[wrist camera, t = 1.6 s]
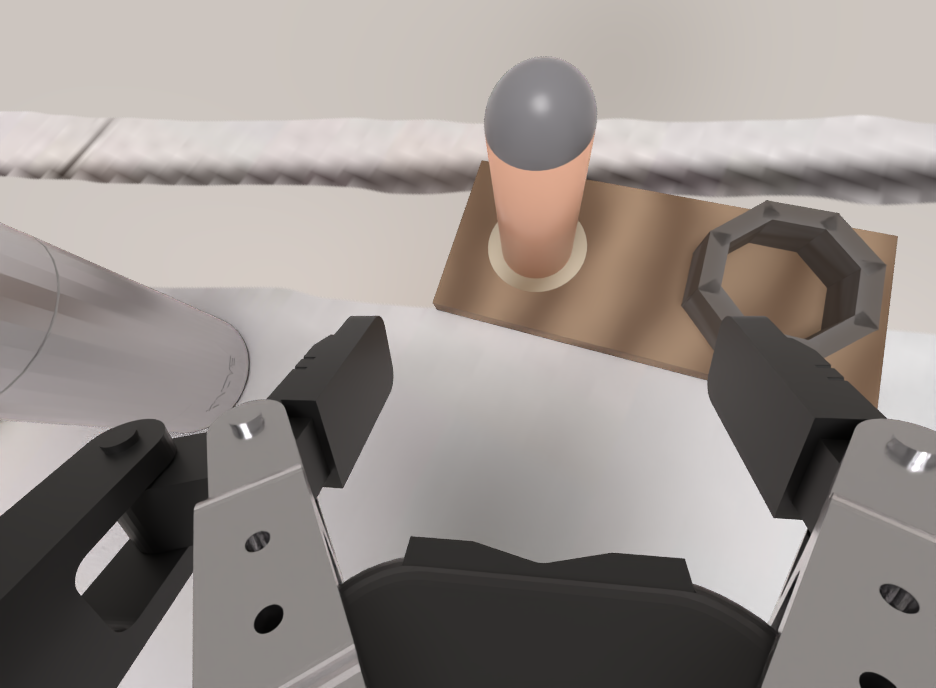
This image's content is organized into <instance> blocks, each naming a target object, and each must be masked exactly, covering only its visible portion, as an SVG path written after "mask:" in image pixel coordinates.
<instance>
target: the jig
mask: <svg viewBox="0 0 936 688" xmlns="http://www.w3.org/2000/svg"><path fill="white" fill-rule="evenodd" d="M897 238H898V236H894V235H888V234H883V233H877V232H871V231H866V230H861V229H855V228H851V226H850V225H849V224H848V223H847V222H846V221H845V220H844V219H843V218H842V217H841V216H840V214H839V213H834V212H829V211H823V210H817V209H812V208H806V207H801V206H795V205H789V204H783V203H778V202H772V201H768V200H766V201H765V202H763V203H761V204H760V205H758V206H756V207H754V208H752V209H746V208H740V207H735V206H729V205H724V204H718V203H713V202H707V201H701V200H696V199H691V198H685V197H680V196H674V195H669V194H663V193H658V192H652V191H647V190H641V189H636V188H630V187H625V186H619V185H614V184H608V183H603V182H597V181H592V180H586V181H585V186H584V191H583V197H582V202H581V207H580V212H579V217H578V222H577V228H576V233H575V238H574V243H573V248H572V253H571V256H570V258H569V260H568V262H567V263H566V265H565V266H564V267H563V268H562V269H561V270H560V271H558V272H557V273H555V274H553V275H551V276H548V277H545V278H537V279H536V278H527V277H524V276H521V275H519V274H517V273H516V272H514V271H513V270H512V269H511V268H510V267H509V266H508V265H507V263H506V262H505V260H504V257H503V254H502V248H501V241H500V234H499V227H498V220H497V213H496V207H495V200H494V193H493V186H492V179H491V172H490V165H489V162H488V161H481V164H480V167H479V170H478V173H477V176H476V179H475V182H474V184H473V187H472V190H471V193H470V196H469V199H468V202H467V205H466V208H465V210H464V213H463V217H462V219H461V222H460V225H459V228H458V231H457V234H456V237H455V240H454V242H453V245H452V248H451V251H450V254H449V257H448V260H447V262H446V265H445V268H444V271H443V274H442V277H441V280H440V283H439V286H438V288H437V292H436V294H435V297H434V300H433V304H434V306H435V307H436V309H437V310H441V311H445V312H449V313H453V314H456V315H460V316H464V317H468V318H472V319H476V320H479V321H483V322H487V323H491V324H495V325H498V326H502V327H506V328H510V329H514V330H518V331H521V332H525V333H529V334H533V335H537V336H540V337H544V338H548V339H552V340H556V341H559V342H563V343H567V344H571V345H575V346H579V347H582V348H586V349H590V350H594V351H598V352H601V353H605V354H609V355H613V356H617V357H621V358H624V359H628V360H632V361H636V362H640V363H643V364H647V365H651V366H655V367H659V368H662V369H666V370H670V371H674V372H678V373H682V374H685V375H689V376H693V377H697V378H701V379H704V380H708V374H709V369H710V365H711V361H712V357H713V353H714V349H715V344H716V340H717V336H718V332H719V328H720V325H721V322H722V320H723V319H724V318H725V317H726V316H766V317H768V318H769V319H770V320H771V321H772V322H773V323H774V324H775V325H776V326H777V327H778V328H779V329H780V330H781V331H782V332H783V334H784V335H785V336H786V337H787V338H793V339H795V340H797V341H799V342H801V343H803V344H805V345H807V346H809V347H810V348H812V349H814V350H816V351H817V352H818V353H819V354H820V355H821V356H822V357H823V358H824V359H825V360H826V361H827V362H829V363H830V364H831V368H835V369H836V370H837V371H838V372H839V373H840V374H841V375H842V376H843V377H844V381H848V382H849V383H850V384H851V385H853V386H854V387H855V388H856V389H857V390H858V391H859V392H860V393H861V394H862V395H863V396H864V397H865V398H866V399H867V400H868V401H869V402H870V403H871V404H872V405H873V406H874V407H876V408H878V399H879V391H880V382H881V374H882V365H883V357H884V348H885V340H886V332H887V323H888V315H889V306H890V298H891V289H892V280H893V273H894V264H895V255H896V246H897Z"/></svg>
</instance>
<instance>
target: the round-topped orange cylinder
mask: <svg viewBox="0 0 936 688" xmlns="http://www.w3.org/2000/svg"><path fill="white" fill-rule="evenodd" d="M596 123H597V107H596V100H595V96H594V93H593V90H592V88H591V86H590V84H589V82H588V80H587V79H586V78H585V76H584V75H583V74H582V73H581V72H580V71H579V70H578V69H577V68H576V67H575V66H573V65H572V64H570V63H568V62H566V61H564V60H562V59H559V58H555V57H535V58H531V59H527V60H525V61H522V62H520V63H518V64H517V65H515V66H514V67H512V68H511V69H510V70H508V71H507V72H506V73H505V74H504V75H503V77H502V78H501V79H500V80H499V81H498V83H497V84H496V85H495V87H494V89H493V91H492V93H491V95H490V97H489V99H488V103H487V106H486V111H485V118H484V129H485V138H486V145H487V152H488V158H489V165H490V172H491V179H492V186H493V193H494V200H495V207H496V213H497V220H498V227H499V234H500V241H501V248H502V254H503V257H504V260H505V262H506V263H507V265H508V266H509V267H510V268H511V269H512V270H513V271H514V272H516V273H517V274H519V275H521V276H524V277H527V278H536V279H537V278H545V277H548V276H551V275H553V274H555V273H557V272H558V271H560V270H561V269H562V268H563V267H564V266H565V265H566V263H567V262H568V260H569V258H570V256H571V253H572V248H573V243H574V238H575V233H576V228H577V222H578V217H579V212H580V207H581V202H582V197H583V191H584V186H585V181H586V176H587V171H588V166H589V160H590V155H591V150H592V145H593V140H594V135H595V129H596Z"/></svg>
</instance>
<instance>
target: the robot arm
mask: <svg viewBox="0 0 936 688" xmlns="http://www.w3.org/2000/svg"><path fill="white" fill-rule="evenodd" d="M248 367H249V362H248V352H247V349H246V346H245V342H244V341H243V339H242V337H241V335H240V334H239V332H238V331H237V330H236V329H235V328H234V327H233V326H232V325H230V324H228V323H226V322H225V321H223V320H221V319H219V318H216V317H214V316H212V315H210V314H207V313H205V312H203V311H201V310H198V309H196V308H194V307H191V306H189V305H187V304H185V303H183V302H181V301H178V300H176V299H174V298H172V297H169V296H167V295H165V294H163V293H160V292H158V291H156V290H153V289H151V288H149V287H147V286H144V285H142V284H140V283H138V282H135V281H133V280H131V279H128V278H126V277H124V276H122V275H119V274H117V273H115V272H112V271H110V270H108V269H106V268H103V267H101V266H99V265H97V264H94V263H92V262H90V261H87V260H85V259H83V258H81V257H78V256H76V255H74V254H71V253H69V252H67V251H65V250H62V249H60V248H58V247H55V246H53V245H51V244H49V243H47V242H44V241H42V240H40V239H37V238H35V237H33V236H30V235H28V234H26V233H24V232H21V231H18V230H16V229H14V228H12V227H9V226H7V225H5V224H2V223H0V420H5V421H19V422H33V423H48V424H62V425H76V426H91V427H105V428H112V429H110V430H107V431H106V432H104V433H102V434H100V435H99V436H97V437H96V438H94V439H93V440H91V441H90V442H89V443H87V444H86V445H85V446H84V447H83V448H81V449H80V450H79V451H78V452H77V453H75V454H74V455H73V456H72V457H71V458H70V459H68V460H67V461H66V462H65V463H64V464H62V465H61V466H60V467H59V468H58V469H56V470H55V471H54V472H53V473H52V474H50V475H49V476H48V477H47V478H46V479H44V480H43V481H42V482H41V483H40V484H38V485H37V486H36V487H35V488H34V489H33V490H31V491H30V492H29V493H28V494H27V495H25V496H24V497H23V498H22V499H21V500H19V501H18V502H17V503H16V504H15V505H13V506H12V507H11V508H10V509H9V510H7V511H6V512H5V513H4V514H3V515H1V516H0V688H117V687H118V685H119V684H120V682H121V681H122V679H123V678H124V676H125V674H126V673H127V671H128V670H129V668H130V667H131V665H132V664H133V662H134V661H135V659H136V658H137V656H138V655H139V653H140V652H141V650H142V649H143V647H144V646H145V644H146V643H147V641H148V639H149V638H150V636H151V635H152V633H153V632H154V630H155V629H156V627H157V626H158V624H159V623H160V621H161V620H162V618H163V617H164V615H165V614H166V612H167V611H168V609H169V608H170V606H171V604H172V603H173V601H174V600H175V598H176V597H177V595H178V594H179V592H180V591H181V589H182V588H183V586H184V585H185V583H186V582H187V580H188V579H189V577H190V576H191V574H192V573H193V687H192V688H936V431H933V430H931V429H928V428H926V427H923V426H920V425H916V424H913V423H909V422H905V421H900V420H893V419H887V418H886V417H885V416H884V415H883V414H882V413H881V412H880V411H879V410H878V409H877V408H876V407H874V406H873V405H872V404H871V403H870V402H869V401H868V400H867V399H866V398H865V397H864V396H863V395H862V394H861V393H860V392H859V391H858V390H857V389H856V388H855V387H854V386H853V385H851V384H850V383H849V382H848V381H844V377H843V376H842V375H841V374H840V373H839V372H838V371H837V370H836V369H835V368H831V364H830V363H829V362H827V361H826V360H825V359H824V358H823V357H822V356H821V355H820V354H819V353H818V352H817V351H816V350H814V349H812V348H810V347H809V346H807V345H805V344H803V343H801V342H799V341H797V340H795V339H793V338H787V337H786V336H785V335H784V334H783V332H782V331H781V330H780V329H779V328H778V327H777V326H776V325H775V324H774V323H773V322H772V321H771V320H770V319H769V318H768V317H766V316H726V317H725V318H724V319H723V320H722V322H721V325H720V328H719V332H718V336H717V340H716V344H715V349H714V353H713V357H712V361H711V365H710V369H709V374H708V383H707V384H708V394H709V398H710V401H711V403H712V405H713V406H714V408H715V410H716V412H717V414H718V416H719V418H720V419H721V421H722V423H723V425H724V427H725V429H726V431H727V432H728V434H729V436H730V438H731V440H732V442H733V444H734V445H735V447H736V449H737V451H738V453H739V455H740V457H741V458H742V460H743V462H744V464H745V466H746V468H747V469H748V471H749V473H750V475H751V477H752V479H753V481H754V482H755V484H756V486H757V488H758V490H759V492H760V494H761V495H762V497H763V499H764V501H765V503H766V505H767V507H768V508H769V510H770V512H771V514H772V516H773V518H782V519H797V520H803V521H804V523H805V525H806V526H807V530H806V532H805V534H804V537H803V539H802V541H801V543H800V546H799V548H798V551H797V553H796V556H795V558H794V560H793V563H792V565H791V568H790V570H789V573H788V575H787V578H786V580H785V583H784V585H783V588H782V590H781V593H780V595H779V598H778V600H777V603H776V605H775V607H774V610H773V612H772V615H771V617H770V619H769V622H768V624H767V623H766V622H765V621H763V620H762V619H761V618H759V617H758V616H756V615H755V614H753V613H752V612H750V611H749V610H747V609H745V608H744V607H742V606H741V605H739V604H737V603H735V602H733V601H732V600H730V599H728V598H726V597H724V596H722V595H720V594H718V593H716V592H713V591H711V590H709V589H706V588H704V587H701V586H698V585H695V584H692V581H691V578H690V574H689V571H688V568H687V565H686V561H685V559H682V558H670V557H658V556H646V555H633V554H621V553H608V554H601V555H595V556H589V557H582V558H576V559H570V560H564V561H557V562H551V563H537V562H533V561H530V560H527V559H524V558H521V557H518V556H515V555H512V554H509V553H506V552H503V551H500V550H497V549H494V548H491V547H488V546H485V545H482V544H479V543H476V542H473V541H462V540H450V539H437V538H425V537H413V536H411V537H410V540H409V544H408V547H407V550H406V554H405V557H404V558H399V559H394V560H391V561H387V562H384V563H381V564H378V565H376V566H373V567H371V568H368V569H366V570H364V571H362V572H360V573H359V574H357V575H355V576H353V577H351V578H350V579H348V580H347V581H345V582H344V580H343V577H342V574H341V571H340V567H339V564H338V561H337V558H336V555H335V552H334V549H333V545H332V542H331V539H330V536H329V533H328V530H327V527H326V523H325V520H324V517H323V514H322V511H321V508H320V505H319V502H318V499H317V496H318V495H319V493H320V491H321V489H322V487H331V488H343V487H344V485H345V483H346V481H347V479H348V477H349V475H350V473H351V471H352V469H353V467H354V465H355V463H356V461H357V459H358V457H359V455H360V453H361V451H362V449H363V447H364V445H365V443H366V441H367V439H368V437H369V435H370V433H371V431H372V428H373V426H374V424H375V422H376V420H377V418H378V416H379V414H380V412H381V410H382V408H383V406H384V404H385V402H386V400H387V398H388V396H389V394H390V392H391V389H392V385H393V366H392V361H391V356H390V351H389V345H388V340H387V335H386V330H385V325H384V322H383V319H382V318H381V317H380V316H350V317H349V318H348V319H347V320H346V321H345V323H344V324H343V325H342V326H341V327H340V329H339V330H338V331H337V332H336V333H335V335H330V336H328V337H326V338H325V339H323V340H321V341H320V342H318V343H317V344H315V345H314V346H313V347H312V348H311V349H310V350H309V351H308V353H307V354H306V355H305V356H304V359H301V360H300V362H299V363H298V364H297V365H296V366H295V369H293V370H292V371H291V372H290V373H289V374H288V375H287V376H286V378H285V379H284V380H283V381H282V382H281V383H280V384H279V385H278V387H277V388H276V389H275V390H274V391H273V392H272V393H271V395H270V396H269V397H268V398H267V399H266V400H255V401H250V402H246V403H243V404H241V405H238V406H236V407H233V406H234V405H235V403H236V402H237V400H238V399H239V397H240V395H241V393H242V391H243V389H244V386H245V383H246V379H247V375H248ZM232 407H233V408H232ZM209 426H210V427H209ZM208 427H209V429H208V431H207V432H206V433H200V434H195V435H189V436H184V437H178V438H173V439H172V438H171V436H170V434H169V432H175V433H189V432H196V431H199V430H202V429H205V428H208ZM117 521H118V522H119V524H120V525H121V527H122V528H123V529H124V531H125V532H126V534H127V535H128V536H129V538H130V539H129V540H128V541H127V543H126V544H125V545H124V546H123V547H122V549H121V550H120V551H119V552H118V553H117V554H116V556H115V557H114V558H113V559H112V560H111V562H110V563H109V564H108V565H107V566H106V567H105V569H104V570H103V571H102V572H101V573H100V575H99V576H98V577H97V578H96V579H95V580H94V582H93V583H92V584H91V585H90V586H89V588H88V589H87V590H86V591H85V592H84V593H83V595H82V596H81V595H80V594H79V593H78V591H77V590H76V587H75V576H76V572H77V569H78V567H79V565H80V563H81V561H82V560H83V558H84V557H85V556H86V555H87V554H88V553H89V551H90V550H91V549H92V548H93V547H94V546H95V545H96V544H97V543H98V542H99V540H100V539H101V538H102V537H103V536H104V535H105V534H106V533H107V532H108V531H109V529H110V528H111V527H112V526H113V525H114V524H115V523H116V522H117Z"/></svg>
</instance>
